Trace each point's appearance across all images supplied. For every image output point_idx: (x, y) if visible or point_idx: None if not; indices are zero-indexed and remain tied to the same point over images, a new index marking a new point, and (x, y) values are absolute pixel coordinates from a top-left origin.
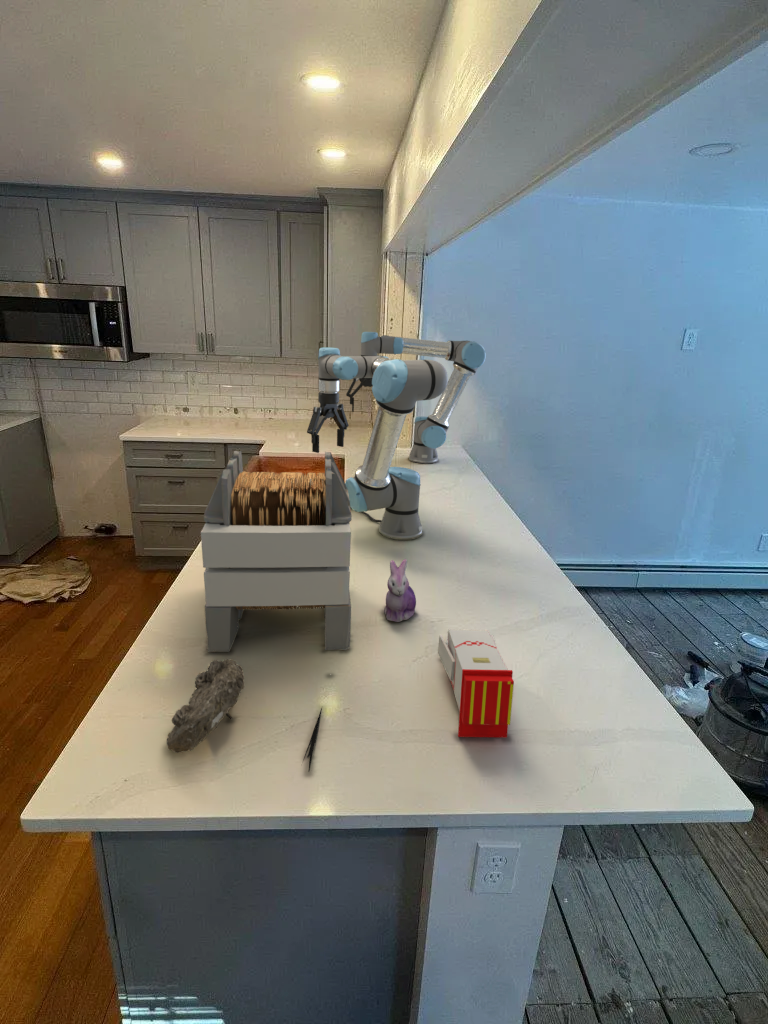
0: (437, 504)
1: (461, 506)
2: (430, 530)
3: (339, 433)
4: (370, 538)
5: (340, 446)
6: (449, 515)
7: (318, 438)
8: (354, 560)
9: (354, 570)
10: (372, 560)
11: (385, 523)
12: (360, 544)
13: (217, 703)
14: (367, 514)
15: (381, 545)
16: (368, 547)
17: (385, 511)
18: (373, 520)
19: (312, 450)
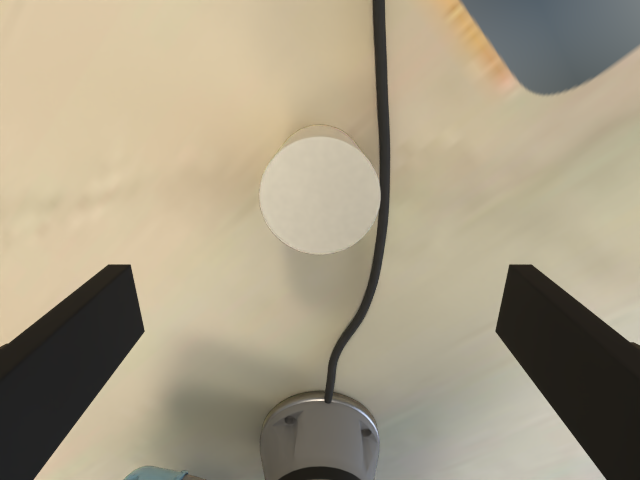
0: None
1: None
2: (384, 470)
3: (609, 408)
4: (228, 409)
5: (500, 311)
6: (523, 455)
7: (25, 468)
8: (103, 450)
9: (71, 474)
10: None
11: (265, 455)
12: (179, 413)
13: None
14: (356, 322)
15: (216, 445)
16: (181, 433)
17: (279, 473)
18: (330, 357)
19: (101, 272)
